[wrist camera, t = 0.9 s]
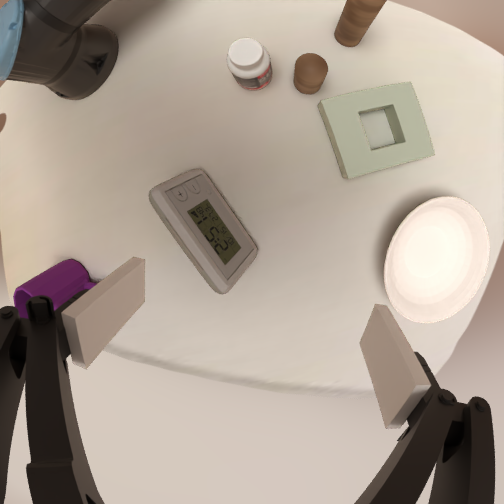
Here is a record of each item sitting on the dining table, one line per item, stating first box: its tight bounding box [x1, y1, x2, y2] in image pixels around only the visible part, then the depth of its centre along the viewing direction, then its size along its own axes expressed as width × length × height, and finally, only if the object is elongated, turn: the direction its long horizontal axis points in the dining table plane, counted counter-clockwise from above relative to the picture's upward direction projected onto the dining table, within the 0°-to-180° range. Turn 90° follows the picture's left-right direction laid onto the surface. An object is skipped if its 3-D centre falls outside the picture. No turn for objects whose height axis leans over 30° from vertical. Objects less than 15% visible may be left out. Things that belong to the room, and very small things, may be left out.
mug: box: [13, 259, 97, 319], centre depth 42 cm, size 9×16×15 cm, turn 87°
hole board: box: [318, 82, 435, 179], centre depth 34 cm, size 11×14×4 cm
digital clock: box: [149, 169, 257, 294], centre depth 38 cm, size 16×9×11 cm, turn 23°
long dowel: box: [334, 0, 387, 47], centre depth 24 cm, size 4×4×15 cm
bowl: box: [384, 196, 490, 323], centre depth 37 cm, size 20×20×6 cm
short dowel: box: [294, 53, 328, 94], centre depth 32 cm, size 4×4×7 cm
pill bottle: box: [227, 38, 272, 90], centre depth 31 cm, size 5×5×10 cm
